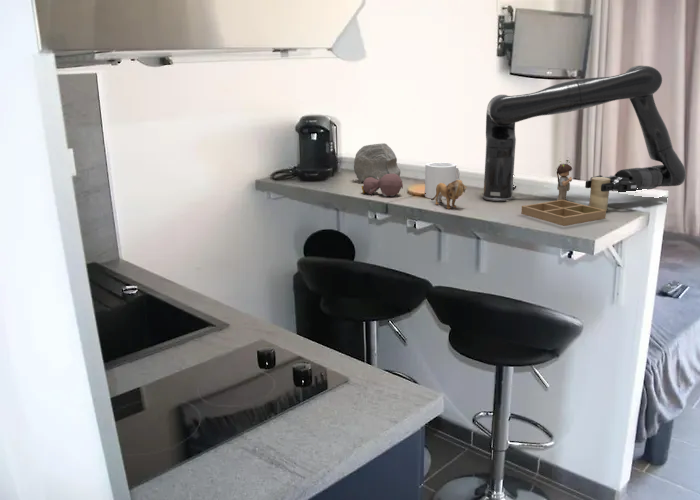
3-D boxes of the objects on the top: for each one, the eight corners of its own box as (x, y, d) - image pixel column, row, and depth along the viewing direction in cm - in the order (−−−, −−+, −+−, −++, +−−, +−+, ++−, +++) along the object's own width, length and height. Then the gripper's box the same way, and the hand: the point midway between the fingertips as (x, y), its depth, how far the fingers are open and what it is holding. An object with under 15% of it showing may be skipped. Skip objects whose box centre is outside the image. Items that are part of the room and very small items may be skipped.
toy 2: (569, 206, 197) (573, 158, 193) (551, 204, 200) (555, 157, 195) (574, 202, 202) (578, 156, 198) (556, 201, 205) (560, 154, 200)
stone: (350, 182, 239) (349, 142, 235) (361, 179, 244) (361, 140, 240) (391, 187, 228) (392, 145, 224) (402, 184, 234) (403, 143, 229)
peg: (586, 209, 193) (590, 176, 191) (604, 209, 193) (608, 177, 190) (590, 213, 189) (593, 180, 186) (608, 213, 188) (612, 180, 185)
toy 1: (364, 203, 220) (403, 201, 212) (355, 186, 215) (395, 183, 207) (371, 187, 225) (410, 184, 217) (363, 170, 220) (402, 167, 212)
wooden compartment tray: (521, 215, 187) (521, 205, 186) (561, 209, 194) (562, 199, 193) (563, 228, 173) (564, 217, 172) (605, 220, 180) (606, 210, 179)
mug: (444, 190, 223) (445, 160, 220) (467, 194, 215) (469, 163, 212) (418, 195, 214) (419, 164, 211) (441, 200, 207) (442, 168, 204)
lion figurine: (468, 208, 196) (469, 180, 193) (455, 211, 193) (456, 182, 190) (436, 200, 207) (437, 173, 205) (424, 202, 205) (425, 174, 202)
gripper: (614, 165, 200) (576, 170, 192) (655, 171, 188) (615, 177, 180) (612, 188, 202) (574, 194, 194) (651, 196, 190) (612, 203, 182)
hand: (594, 186), depth 187 cm, fingers closed on peg, 5 cm apart
